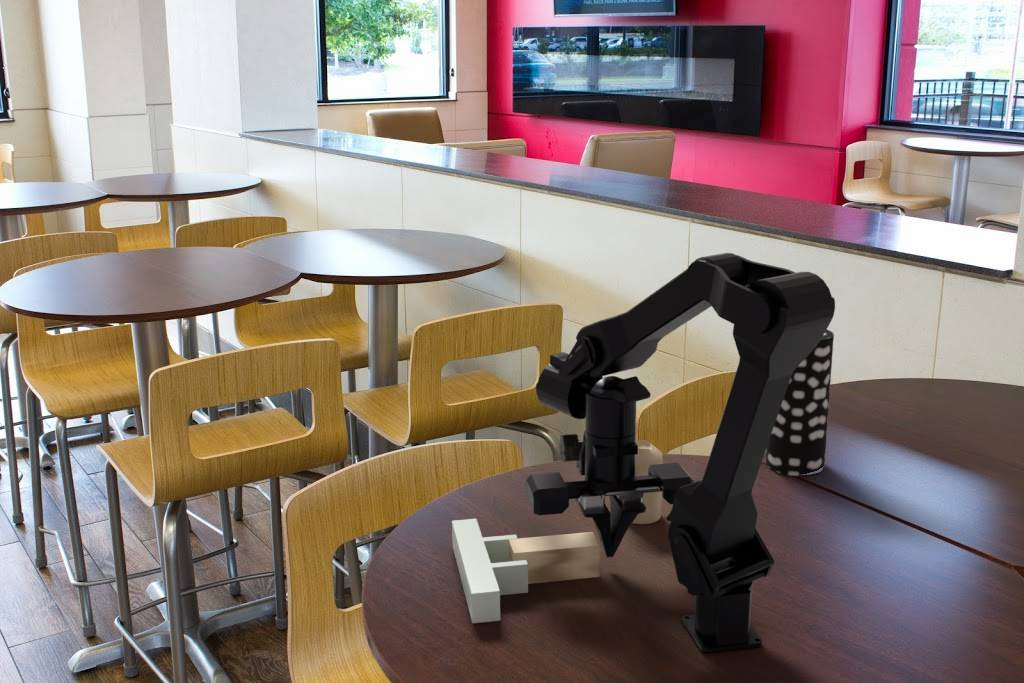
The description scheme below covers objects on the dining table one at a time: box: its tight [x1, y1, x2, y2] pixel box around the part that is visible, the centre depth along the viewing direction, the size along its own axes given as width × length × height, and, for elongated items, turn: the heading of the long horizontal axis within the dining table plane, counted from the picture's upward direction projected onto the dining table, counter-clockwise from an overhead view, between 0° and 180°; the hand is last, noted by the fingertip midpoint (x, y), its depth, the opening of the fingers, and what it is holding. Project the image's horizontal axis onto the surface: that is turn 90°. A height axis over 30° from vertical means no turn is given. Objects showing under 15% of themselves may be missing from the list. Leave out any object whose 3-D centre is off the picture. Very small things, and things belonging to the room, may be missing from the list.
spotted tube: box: [765, 328, 835, 477], centre depth 146 cm, size 8×8×20 cm
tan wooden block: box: [509, 531, 601, 585], centre depth 118 cm, size 10×4×4 cm, turn 100°
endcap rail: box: [451, 518, 529, 624], centre depth 117 cm, size 18×7×4 cm, turn 10°
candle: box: [632, 439, 664, 525], centre depth 131 cm, size 6×6×10 cm
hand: (609, 555), depth 119 cm, fingers closed
